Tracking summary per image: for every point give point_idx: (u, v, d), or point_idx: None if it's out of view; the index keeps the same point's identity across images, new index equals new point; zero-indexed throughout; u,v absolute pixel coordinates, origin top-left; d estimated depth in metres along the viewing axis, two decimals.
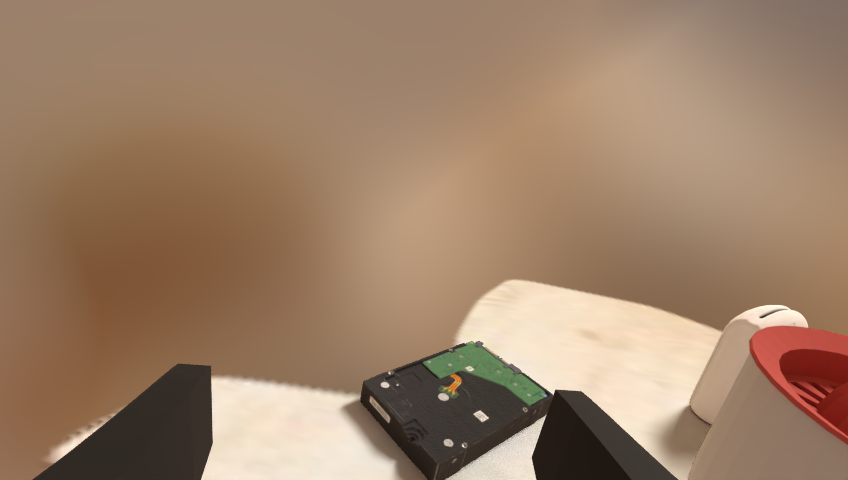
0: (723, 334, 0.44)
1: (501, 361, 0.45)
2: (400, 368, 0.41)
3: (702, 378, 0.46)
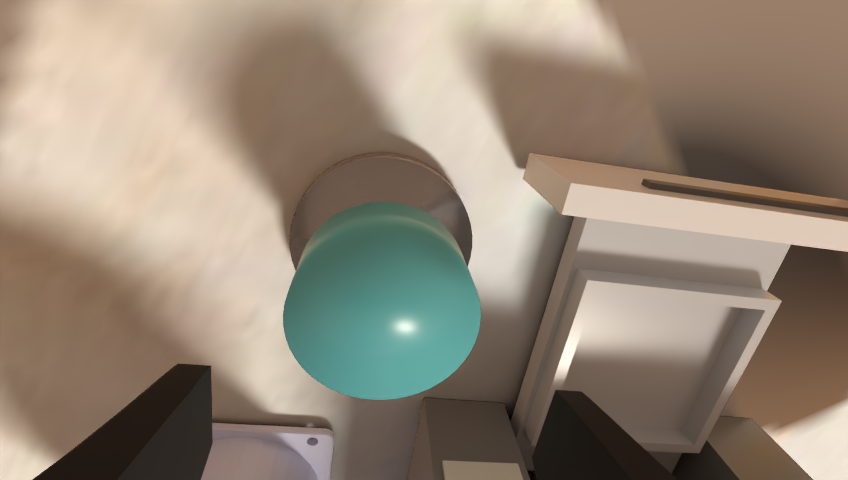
0: None
1: None
2: None
3: None
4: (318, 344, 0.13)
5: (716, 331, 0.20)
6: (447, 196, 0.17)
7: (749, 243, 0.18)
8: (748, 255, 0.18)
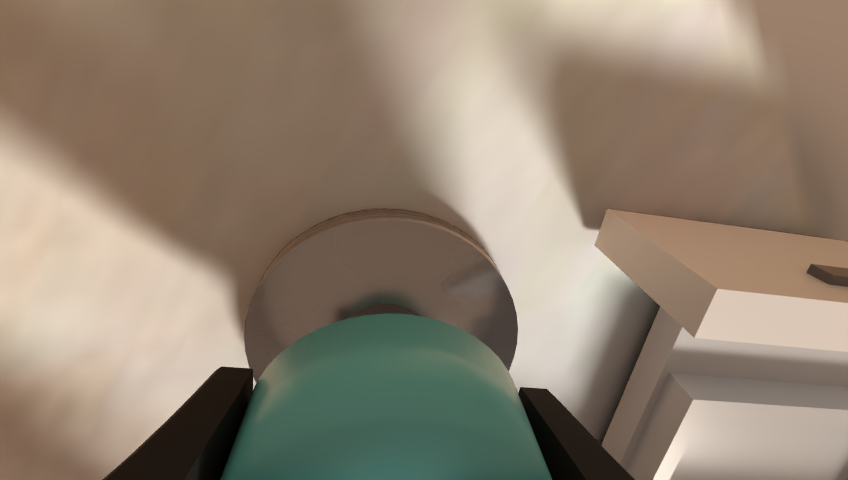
0: None
1: None
2: None
3: None
4: None
5: None
6: (483, 275, 0.11)
7: None
8: None
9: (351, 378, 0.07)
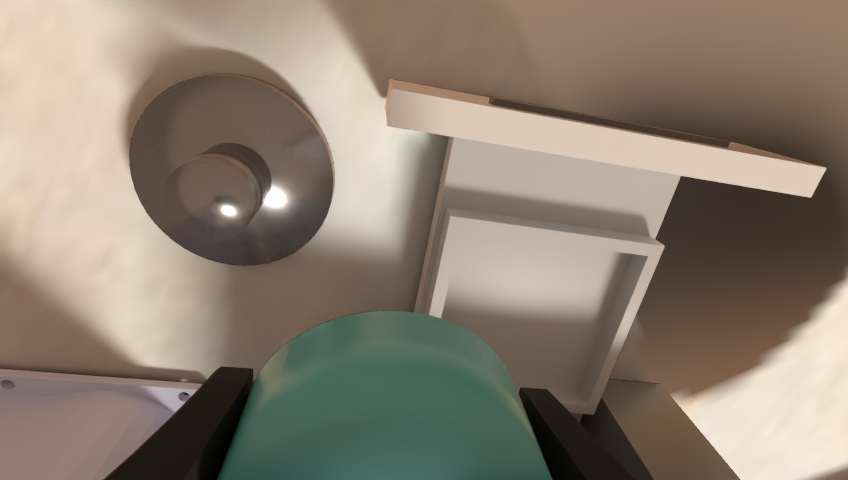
0: None
1: None
2: None
3: None
4: None
5: (605, 283, 0.19)
6: (299, 122, 0.16)
7: (631, 184, 0.17)
8: (631, 198, 0.17)
9: (349, 374, 0.07)
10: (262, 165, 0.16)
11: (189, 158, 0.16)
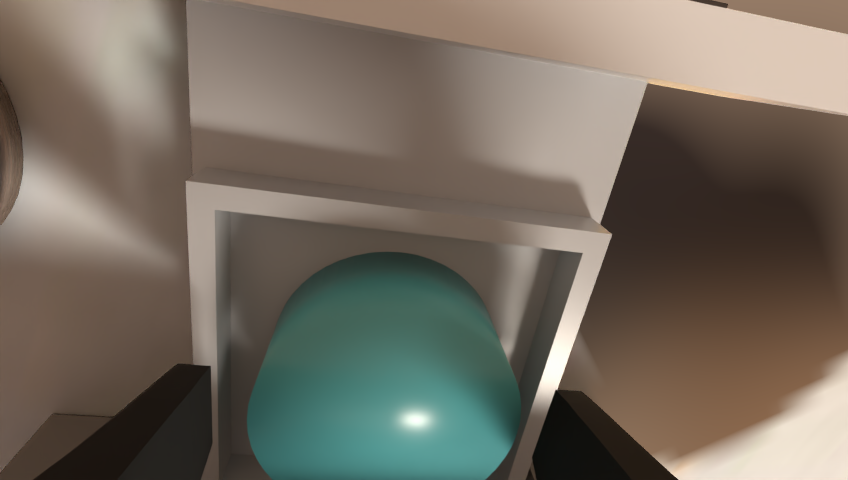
0: None
1: None
2: None
3: None
4: (297, 454, 0.09)
5: (520, 299, 0.11)
6: None
7: (548, 123, 0.09)
8: (551, 148, 0.10)
9: (359, 289, 0.09)
10: None
11: None
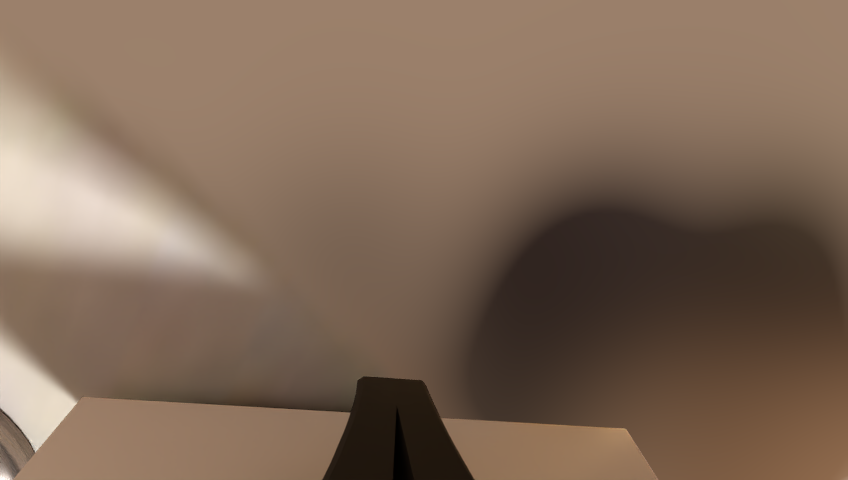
0: None
1: None
2: None
3: None
4: None
5: None
6: None
7: None
8: None
9: None
10: None
11: None
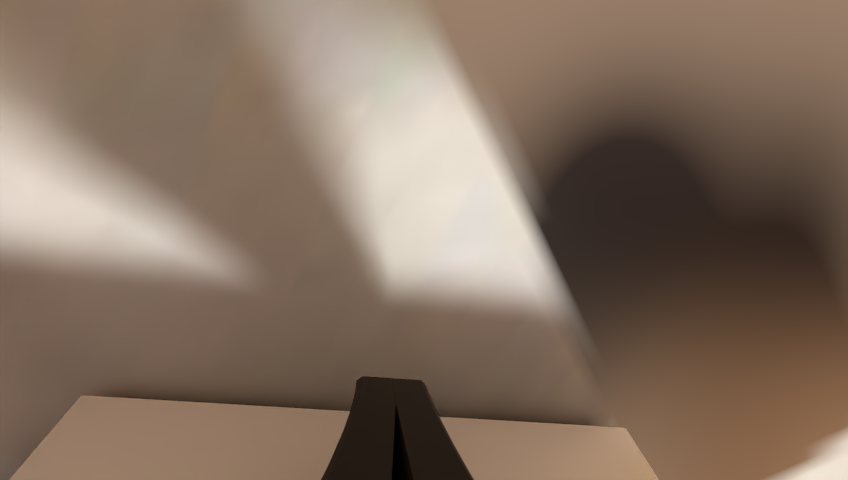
0: None
1: None
2: None
3: None
4: None
5: None
6: None
7: None
8: None
9: None
10: None
11: None
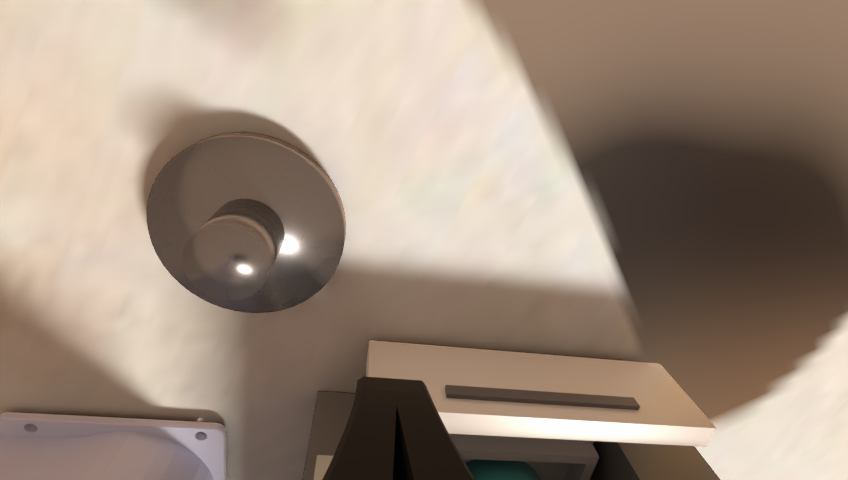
0: None
1: None
2: None
3: None
4: None
5: (555, 472, 0.23)
6: (311, 178, 0.16)
7: None
8: None
9: None
10: (275, 220, 0.16)
11: (204, 214, 0.16)
